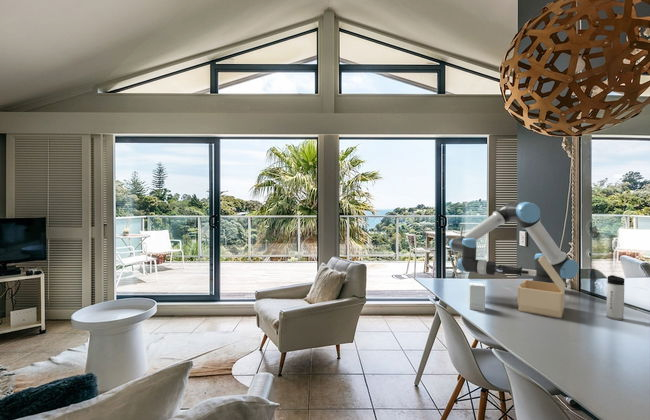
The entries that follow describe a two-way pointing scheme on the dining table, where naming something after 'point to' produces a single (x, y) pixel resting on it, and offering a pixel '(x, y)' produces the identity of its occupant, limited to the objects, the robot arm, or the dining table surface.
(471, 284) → the supplement box
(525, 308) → the carton
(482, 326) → the dining table surface
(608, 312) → the travel mug
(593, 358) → the dining table surface
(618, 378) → the dining table surface
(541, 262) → the carton flap
